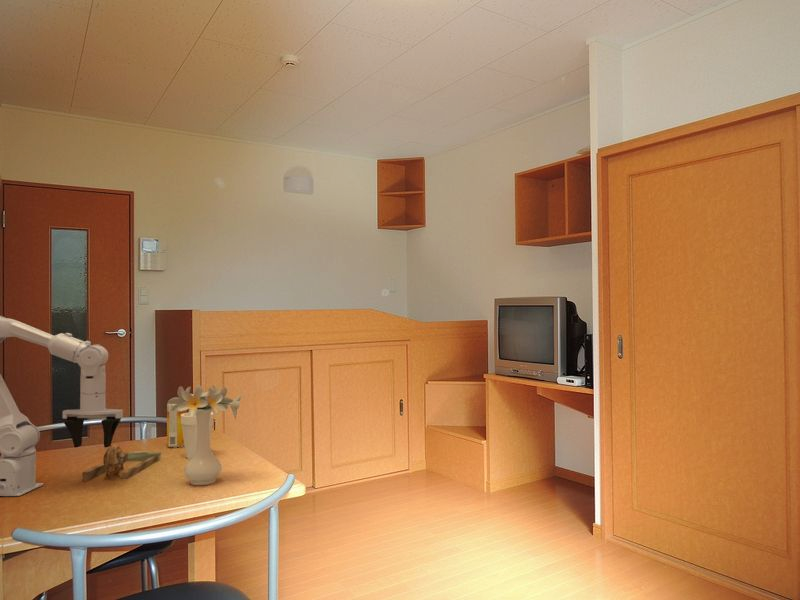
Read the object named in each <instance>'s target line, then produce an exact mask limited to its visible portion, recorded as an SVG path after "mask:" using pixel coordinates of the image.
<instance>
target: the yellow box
mask: <svg viewBox="0 0 800 600" xmlns="http://www.w3.org/2000/svg"><path fill="white" fill-rule="evenodd" d="M174 405H176V404H168V403H167V404H166V407H167V408H166V445H167V446H168V448H169V447H180V446H184V438H183V430H182V424H181V414H183V413H188V409H187V410H184V411H178V410H177V408H176V409H175V410H174V411H171V409H172V407H173V406H174ZM184 447H185V446H184ZM180 448H181V447H180Z"/></svg>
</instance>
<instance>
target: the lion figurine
mask: <svg viewBox="0 0 800 600" xmlns="http://www.w3.org/2000/svg"><path fill="white" fill-rule="evenodd" d="M124 452H125V451H123V449H122V448H121V446H120V445H119V444H113V445H111V446H109V447H107V449H106V451H105V453H104V454H103V457H102V458H103V462H104V465H105V476H104V477H103V479H106V480H107V479H109V478H110V477H111V476H110V473H112V470H113V469H115V470H114V477H115V478H120V477H121V474H120V470H124V469H125V467H124V463H125V462H123V457H124V456H125V455H126V453H124ZM119 461H120V465H119Z"/></svg>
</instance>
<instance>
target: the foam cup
mask: <svg viewBox="0 0 800 600" xmlns="http://www.w3.org/2000/svg"><path fill="white" fill-rule="evenodd" d="M213 412H214V411H213ZM213 412H212V411H211V415H210V421H209V439H210V440H211V437H212V432H213V431H212V430H213V423H214V422H215V421H214V418H215V417H214V414H215V412H214V413H213ZM181 424H182V430H183V438H184V453H185V457H187V458H192V456H193V454H194V452H195V449H196V443H197V418H196V415H195V416H194V417H190V415H189V411H187V413H183V414H181ZM187 458H186V459H187Z"/></svg>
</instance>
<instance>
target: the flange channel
mask: <svg viewBox="0 0 800 600" xmlns="http://www.w3.org/2000/svg"><path fill="white" fill-rule="evenodd" d="M123 452H124V453H126V455H125V456H124V457H123V462H124V463H126V462H127V461H128V462H130V461H131V462H140V461H141V462H140V463H137V464H136V465H134V466H132V467H129V468H128V469H127V470H124V471H123V472H122V473H121V480H127V479H129V478H130V477H132V476H134V475H136V474H137V473H139V472H141V471H144V470H145V469H147V468H148V467H150V466H152V465H154V464H155V463H157V462H159V461H161V460H162V458H161V457H162V451H161V452H159V451H158V452H157V451H149V450H137V451H123ZM119 465H120V461H119ZM104 473H105V465H104V461H103V462H101V463H99V464H97V465H95V466H93V467H91V468H89V469H87V470H85V471H83V472H81V474H82V476H81V480H82V482H89V481H91V480H92V479H95V478H97V477H99V476H101V475H102V474H104ZM88 480H89V481H88Z"/></svg>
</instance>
